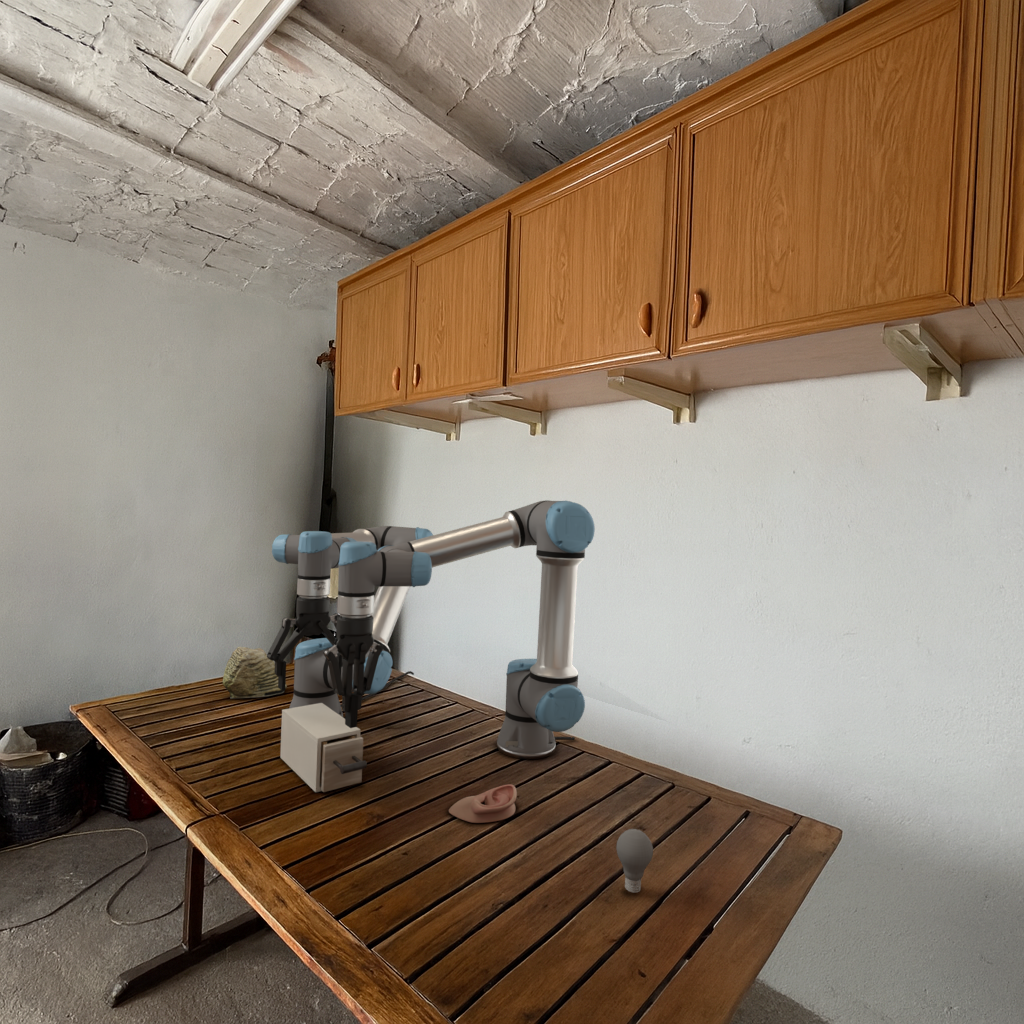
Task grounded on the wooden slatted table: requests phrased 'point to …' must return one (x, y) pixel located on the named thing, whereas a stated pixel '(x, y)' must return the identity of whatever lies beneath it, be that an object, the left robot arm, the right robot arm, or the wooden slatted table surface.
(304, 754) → the cabinet
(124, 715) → the wooden slatted table surface
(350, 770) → the drawer
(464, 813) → the anatomical model
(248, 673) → the fossil
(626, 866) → the light bulb
